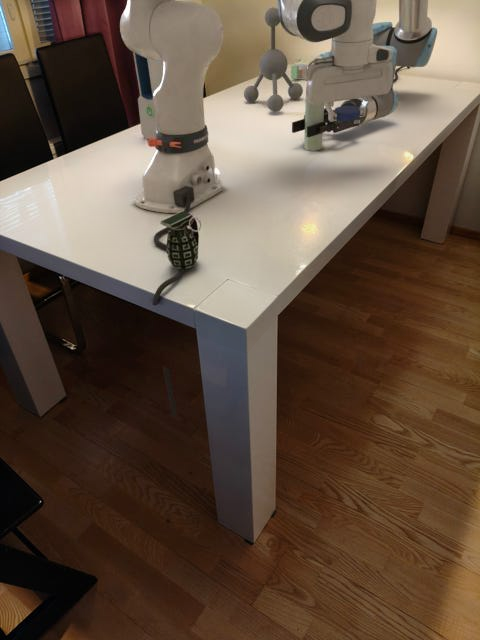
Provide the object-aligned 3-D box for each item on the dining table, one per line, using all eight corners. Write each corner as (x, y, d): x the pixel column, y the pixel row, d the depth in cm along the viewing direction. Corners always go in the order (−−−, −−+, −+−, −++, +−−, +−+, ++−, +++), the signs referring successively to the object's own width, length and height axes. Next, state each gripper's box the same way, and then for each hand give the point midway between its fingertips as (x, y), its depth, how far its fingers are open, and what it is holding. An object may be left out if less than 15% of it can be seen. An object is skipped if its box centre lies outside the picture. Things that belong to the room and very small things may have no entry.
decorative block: (312, 52, 220) (353, 55, 210) (311, 68, 224) (351, 71, 214) (282, 63, 204) (325, 66, 194) (282, 79, 208) (324, 84, 198)
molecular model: (322, 103, 175) (328, 5, 157) (274, 116, 166) (273, 12, 147) (282, 92, 191) (282, 1, 172) (235, 103, 181) (230, 8, 163)
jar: (304, 145, 142) (305, 86, 132) (321, 144, 141) (324, 86, 132) (304, 150, 138) (306, 91, 128) (322, 150, 137) (325, 90, 128)
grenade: (182, 278, 88) (175, 228, 82) (162, 268, 91) (153, 219, 85) (208, 263, 92) (203, 214, 85) (187, 253, 95) (181, 205, 89)
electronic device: (141, 137, 154) (123, 28, 136) (159, 131, 158) (144, 24, 140) (166, 145, 147) (151, 30, 129) (185, 138, 151) (172, 26, 133)
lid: (361, 120, 114) (362, 112, 112) (335, 122, 114) (335, 114, 113) (357, 113, 118) (358, 105, 117) (332, 114, 119) (332, 106, 118)
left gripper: (312, 62, 103) (311, 128, 112) (399, 50, 107) (391, 115, 116) (301, 57, 108) (301, 121, 117) (385, 45, 112) (378, 108, 120)
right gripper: (379, 131, 141) (323, 151, 130) (333, 119, 152) (278, 136, 141) (383, 103, 136) (325, 122, 125) (334, 93, 148) (278, 109, 137)
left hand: (346, 118), depth 116 cm, fingers closed on lid, 6 cm apart
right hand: (300, 129), depth 133 cm, fingers closed on jar, 5 cm apart
